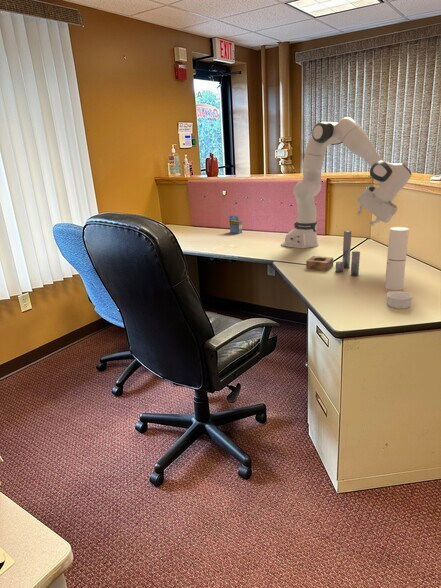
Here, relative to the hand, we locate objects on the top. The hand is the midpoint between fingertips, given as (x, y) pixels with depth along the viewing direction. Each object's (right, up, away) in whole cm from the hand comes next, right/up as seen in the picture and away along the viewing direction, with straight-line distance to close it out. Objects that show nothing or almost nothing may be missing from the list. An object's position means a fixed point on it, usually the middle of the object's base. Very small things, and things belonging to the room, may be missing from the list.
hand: (364, 219), depth 205 cm
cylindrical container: (+2, -34, -30) cm, 46 cm away
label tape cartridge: (-60, +7, +93) cm, 111 cm away
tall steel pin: (-9, -24, 0) cm, 25 cm away
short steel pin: (-14, -26, -5) cm, 30 cm away
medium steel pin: (-9, -28, -12) cm, 32 cm away
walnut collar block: (-22, -23, +3) cm, 32 cm away
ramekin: (-4, -41, -48) cm, 64 cm away
